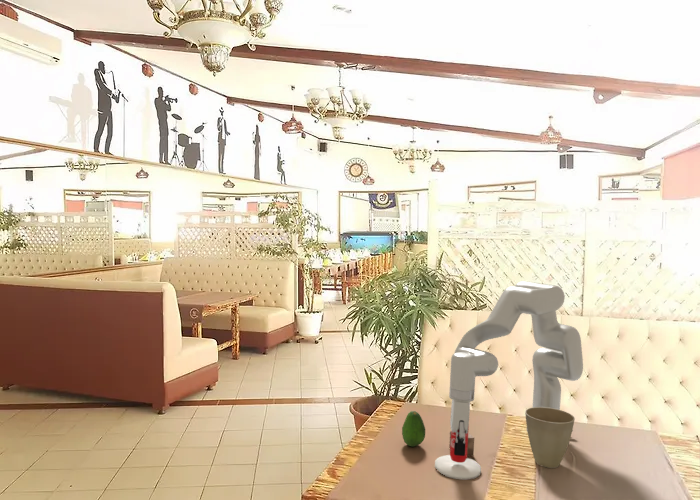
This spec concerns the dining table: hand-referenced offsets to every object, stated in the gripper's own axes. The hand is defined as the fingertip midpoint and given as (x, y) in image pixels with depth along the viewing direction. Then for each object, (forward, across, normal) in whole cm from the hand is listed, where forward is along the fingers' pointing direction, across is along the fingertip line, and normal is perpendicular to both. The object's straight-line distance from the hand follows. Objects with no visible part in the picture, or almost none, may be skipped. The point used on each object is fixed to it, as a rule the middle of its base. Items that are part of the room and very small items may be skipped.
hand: (458, 450), depth 165 cm
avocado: (+6, -14, -14) cm, 21 cm away
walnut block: (+6, -13, +2) cm, 14 cm away
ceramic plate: (+6, 0, 0) cm, 6 cm away
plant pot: (+6, -11, +29) cm, 31 cm away
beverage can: (+3, 0, 0) cm, 3 cm away
